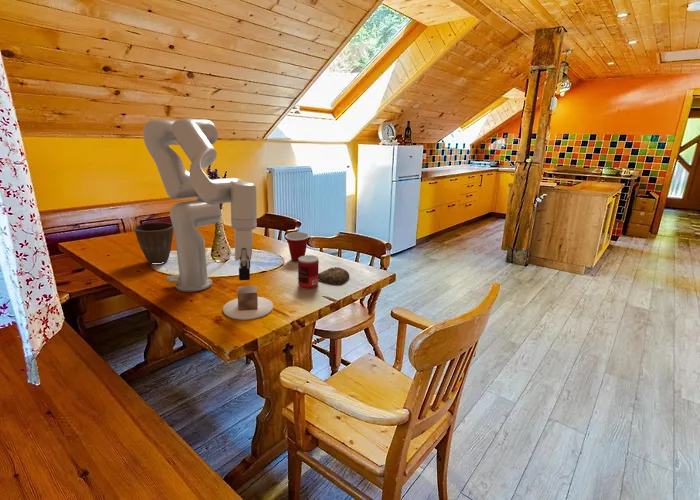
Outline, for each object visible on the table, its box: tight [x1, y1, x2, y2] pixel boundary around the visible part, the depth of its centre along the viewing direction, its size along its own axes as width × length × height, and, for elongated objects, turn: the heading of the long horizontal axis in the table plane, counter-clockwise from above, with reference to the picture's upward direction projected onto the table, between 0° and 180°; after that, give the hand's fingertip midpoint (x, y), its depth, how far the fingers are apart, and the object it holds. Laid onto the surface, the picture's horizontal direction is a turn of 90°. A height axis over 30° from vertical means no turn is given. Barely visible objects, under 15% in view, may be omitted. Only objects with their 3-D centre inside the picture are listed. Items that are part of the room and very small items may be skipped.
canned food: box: [297, 254, 320, 290], centre depth 145 cm, size 8×8×11 cm
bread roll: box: [318, 267, 350, 285], centre depth 154 cm, size 13×12×5 cm
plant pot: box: [133, 222, 174, 265], centre depth 164 cm, size 15×15×16 cm
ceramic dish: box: [222, 296, 274, 321], centre depth 126 cm, size 16×16×1 cm
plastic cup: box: [285, 231, 310, 263], centre depth 174 cm, size 11×11×12 cm
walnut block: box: [237, 285, 259, 311], centre depth 125 cm, size 6×6×6 cm
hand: (244, 273), depth 123 cm, fingers open, 9 cm apart
